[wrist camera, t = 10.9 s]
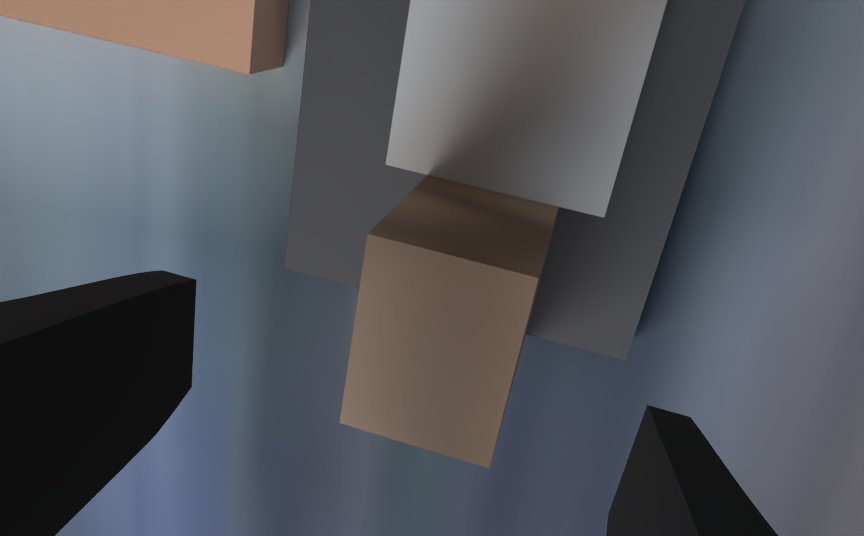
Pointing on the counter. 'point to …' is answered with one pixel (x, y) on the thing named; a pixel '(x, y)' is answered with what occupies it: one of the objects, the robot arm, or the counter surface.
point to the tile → (173, 27)
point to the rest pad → (573, 231)
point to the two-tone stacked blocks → (485, 202)
